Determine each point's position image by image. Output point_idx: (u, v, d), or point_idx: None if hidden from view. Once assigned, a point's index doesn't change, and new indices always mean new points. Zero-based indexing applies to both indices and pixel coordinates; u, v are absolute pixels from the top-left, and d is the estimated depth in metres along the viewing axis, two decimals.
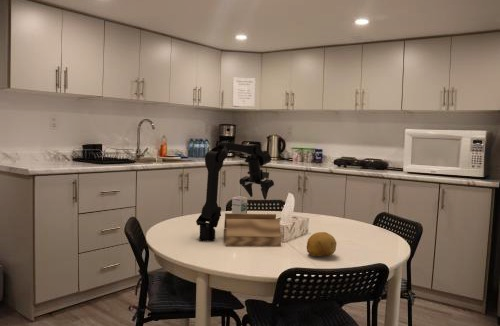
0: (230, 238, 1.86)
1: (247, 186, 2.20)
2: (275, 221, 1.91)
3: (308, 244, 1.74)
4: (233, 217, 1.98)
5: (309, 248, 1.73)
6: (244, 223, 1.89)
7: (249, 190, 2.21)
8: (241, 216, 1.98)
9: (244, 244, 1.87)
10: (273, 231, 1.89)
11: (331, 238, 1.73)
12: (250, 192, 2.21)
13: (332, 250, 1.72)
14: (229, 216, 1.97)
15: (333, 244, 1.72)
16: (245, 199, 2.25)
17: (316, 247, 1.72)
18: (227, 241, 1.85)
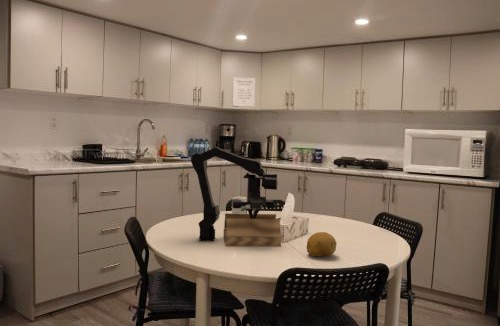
0: (230, 238, 1.86)
1: (253, 208, 1.93)
2: (275, 221, 1.91)
3: (308, 244, 1.74)
4: (233, 217, 1.98)
5: (309, 248, 1.73)
6: (244, 223, 1.89)
7: (253, 214, 1.92)
8: (241, 216, 1.98)
9: (244, 244, 1.87)
10: (273, 231, 1.89)
11: (331, 238, 1.73)
12: None
13: (332, 250, 1.72)
14: (229, 216, 1.97)
15: (333, 244, 1.72)
16: (245, 199, 2.25)
17: (316, 247, 1.72)
18: (227, 241, 1.85)
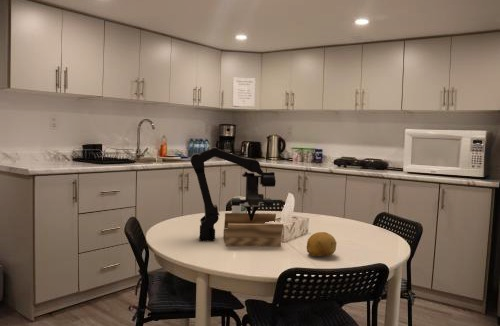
0: (230, 238, 1.86)
1: (252, 206, 1.98)
2: (278, 226, 1.84)
3: (308, 244, 1.74)
4: (233, 217, 1.98)
5: (309, 248, 1.73)
6: (246, 228, 1.82)
7: None
8: (241, 216, 1.98)
9: (244, 244, 1.87)
10: (274, 234, 1.86)
11: (331, 238, 1.73)
12: (251, 214, 1.97)
13: (332, 250, 1.72)
14: (229, 216, 1.97)
15: (333, 244, 1.72)
16: (245, 199, 2.25)
17: (316, 247, 1.72)
18: (227, 241, 1.85)
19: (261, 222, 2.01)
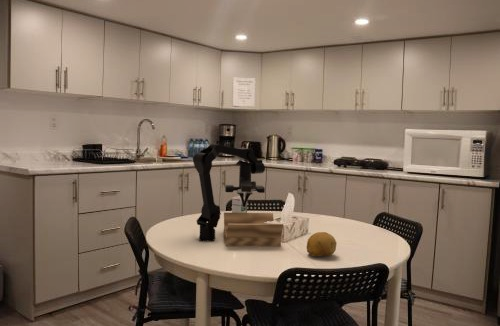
0: (230, 238, 1.86)
1: (245, 193, 2.09)
2: (278, 226, 1.84)
3: (308, 244, 1.74)
4: (232, 216, 2.04)
5: (309, 248, 1.73)
6: (246, 228, 1.82)
7: (244, 198, 2.08)
8: (239, 215, 2.04)
9: (244, 244, 1.87)
10: (274, 234, 1.86)
11: (331, 238, 1.73)
12: (244, 201, 2.08)
13: (332, 250, 1.72)
14: (228, 215, 2.04)
15: (333, 244, 1.72)
16: None
17: (316, 247, 1.72)
18: (227, 241, 1.85)
19: (260, 221, 2.04)
